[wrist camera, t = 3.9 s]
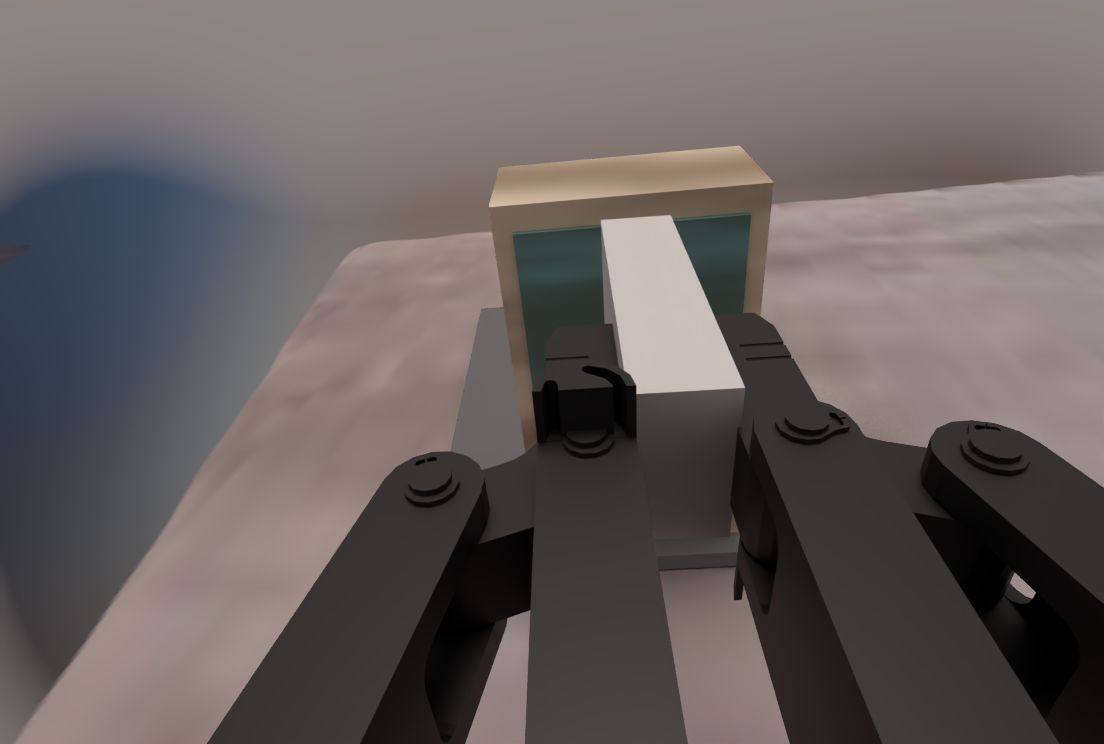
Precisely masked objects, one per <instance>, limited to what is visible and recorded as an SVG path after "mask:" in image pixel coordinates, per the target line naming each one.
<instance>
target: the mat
mask: <svg viewBox="0 0 1104 744" xmlns="http://www.w3.org/2000/svg"><path fill="white" fill-rule="evenodd" d="M450 452H455V453H459V454H463V455H466V456H469V457H470V458H471V459H473V460H474V461H475V462H476V463H478V464H479V465H480V468H481V470H483V469H486V468H490V467H493V466H497V465H500V464H503V463H506V462H508V461H511V460H514V459H516V458H517V457H519V456H521V455H522V454H524V453H525V447H524V440H523V434H522V427H521V420H520V414H519V407H518V400H517V394H516V387H515V380H514V374H513V367H512V360H511V354H510V347H509V340H508V334H507V327H506V320H505V314H504V307H499V308H486V309H481V313H480V317H479V322H478V327H477V331H476V336H475V341H474V345H473V350H472V354H471V359H470V364H469V368H468V373H467V377H466V382H465V387H464V391H463V396H462V400H461V405H460V410H459V414H458V419H457V423H456V428H455V433H454V437H453V442H452V446H451V451H450ZM739 537H740V534H739V532H731V533H730V536H729V537H707V538H685V539H664V540H654V544H655V550H656V556H657V562H658V568H659V570H667V569H686V568H705V567H724V566H736V562H737V554H738V545H739Z"/></svg>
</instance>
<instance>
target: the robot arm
mask: <svg viewBox="0 0 1104 744" xmlns="http://www.w3.org/2000/svg"><path fill="white" fill-rule="evenodd" d="M601 241H602V268H603V295H604V321H605V324H596V325H580V326H564V327H557V329H556V330H555V331H554V332H553V334H552V335H551V336H550V338H549V339H548V340H547V341H546V355H545V360H546V362H545V373H544V374H543V375H542V376H541V377H540V378H538V379H537V380H536V382H535V385H534V387H533V390H532V399H533V407H534V416H535V425H536V433H537V442H536V444H535V445H534V446H533V447H531V448H530V449H529V450H528V451H527V452H526V453H524V454H522V455H521V456H519V457H517V458H516V459H514V460H511V461H508V462H506V463H503V464H500V465H497V466H493V467H490V468H486V469H483V470H481V468H480V465H479V464H478V463H476V462H475V461H474V460H473V459H471V458H470V457H469V456H466V455H463V454H459V453H455V452H431V453H427V454H424V455H420V456H416V457H413V458H411V459H410V460H408V461H406V462H404V463H403V464H401V465H399V466H397V467H396V468H395V469H394V470H393V471H392V472H391V473H390V474H389V475H388V476H387V477H386V478H385V479H384V481H383V482H382V484H381V485H380V487H379V488H378V490H377V491H376V493H375V494H374V496H373V497H372V499H371V500H370V502H369V503H368V505H367V506H366V508H365V509H364V511H363V512H362V514H361V515H360V517H359V518H358V520H357V521H356V522H355V524H354V525H353V527H352V528H351V530H350V531H349V533H348V534H347V536H346V537H345V539H344V540H343V542H342V543H341V545H340V546H339V548H338V549H337V551H336V552H335V554H334V555H333V557H332V558H331V560H330V561H329V563H328V564H327V566H326V567H325V569H324V570H323V572H322V573H321V575H320V576H319V578H318V579H317V581H316V582H315V583H314V585H313V586H312V588H311V589H310V591H309V592H308V594H307V595H306V597H305V598H304V600H303V601H302V603H301V604H300V606H299V607H298V609H297V610H296V612H295V613H294V615H293V616H292V618H291V619H290V621H289V622H288V624H287V625H286V627H285V628H284V630H283V631H282V633H281V634H280V636H279V637H278V639H277V640H276V642H275V643H274V645H273V646H272V647H271V649H270V650H269V652H268V653H267V655H266V656H265V658H264V659H263V661H262V662H261V664H260V665H259V667H258V668H257V670H256V671H255V673H254V674H253V676H252V677H251V679H250V680H249V682H248V683H247V685H246V686H245V688H244V689H243V691H242V692H241V694H240V695H239V697H238V698H237V700H236V701H235V703H234V704H233V706H232V707H231V708H230V710H229V711H228V713H227V714H226V716H225V717H224V719H223V720H222V722H221V723H220V725H219V726H218V728H217V729H216V731H215V732H214V734H213V735H212V737H211V738H210V740H209V741H208V743H207V744H465V742H466V739H467V736H468V734H469V731H470V728H471V725H472V722H473V719H474V716H475V714H476V711H477V708H478V705H479V702H480V699H481V696H482V694H483V691H484V688H485V685H486V682H487V679H488V676H489V674H490V671H491V668H492V665H493V662H494V659H495V657H496V654H497V651H498V648H499V645H500V642H501V639H502V637H503V634H504V631H505V628H506V624H507V618H509V617H512V616H514V615H517V614H520V613H523V612H526V611H529V610H531V612H530V636H529V660H528V684H527V708H526V732H525V744H688V743H687V737H686V731H685V725H684V719H683V713H682V707H681V701H680V695H679V689H678V683H677V677H676V671H675V665H674V659H673V653H672V647H671V641H670V635H669V629H668V623H667V617H666V611H665V604H664V598H663V592H662V586H661V580H660V574H659V568H658V562H657V556H656V550H655V544H654V540H664V539H685V538H707V537H729V536H730V529H731V519H732V512H733V515H734V518H735V522H736V525H737V528H738V531H739V534H740V537H739V545H738V554H737V562H736V571H735V579H734V600H742V593H743V585H744V587H745V591H746V594H747V598H748V601H749V605H750V608H751V611H752V615H753V618H754V622H755V625H756V629H757V632H758V636H759V639H760V642H761V646H762V649H763V653H764V656H765V660H766V663H767V667H768V670H769V674H770V677H771V680H772V684H773V687H774V691H775V694H776V698H777V701H778V705H779V708H780V711H781V715H782V718H783V722H784V725H785V729H786V732H787V736H788V739H789V742H790V744H1104V488H1103V487H1102V486H1100V485H1099V484H1098V483H1096V482H1095V481H1093V480H1092V479H1091V478H1089V477H1088V476H1086V475H1085V474H1083V473H1082V472H1081V471H1079V470H1078V469H1076V468H1075V467H1074V466H1072V465H1071V464H1069V463H1068V462H1066V461H1065V460H1064V459H1062V458H1061V457H1059V456H1058V455H1057V454H1055V453H1054V452H1052V451H1051V450H1050V449H1048V448H1047V447H1045V446H1044V445H1042V444H1041V443H1039V442H1038V441H1036V440H1034V439H1032V438H1030V437H1029V436H1027V435H1025V434H1023V433H1021V432H1020V431H1017V430H1014V429H1011V428H1007V427H1004V426H1001V425H998V424H995V423H989V422H980V421H973V420H970V421H958V422H950V423H948V424H946V425H943V426H941V427H939V428H937V429H936V431H935V432H934V434H933V435H932V436H931V438H930V441H929V444H928V447H927V448H925V447H918V446H912V445H905V444H898V443H892V442H885V441H881V440H876V439H871V438H868V437H865V436H864V434H863V433H862V431H861V430H860V428H859V427H858V425H857V424H856V423H855V422H854V421H853V420H852V419H851V418H850V417H849V416H848V415H847V414H846V413H845V412H843V411H841V410H839V409H837V408H835V407H834V406H832V405H830V404H826V403H823V402H819V401H818V400H817V399H816V397H815V395H814V393H813V392H812V390H811V388H810V387H809V385H808V383H807V381H806V380H805V378H804V376H803V375H802V373H801V371H800V369H799V368H798V366H797V364H796V363H795V361H794V359H791V354H790V352H789V351H788V349H787V347H786V345H784V344H783V340H782V339H781V337H780V335H779V333H778V332H777V330H776V328H775V327H774V325H772V324H771V323H769V322H768V321H766V320H765V319H763V318H762V317H760V316H759V315H757V314H756V313H738V314H722V315H714V314H713V312H712V310H711V307H710V305H709V303H708V300H707V298H706V296H705V294H704V291H703V289H702V287H701V284H700V282H699V280H698V277H697V275H696V273H695V270H694V268H693V266H692V263H691V261H690V259H689V257H688V254H687V252H686V250H685V247H684V245H683V243H682V240H681V238H680V236H679V233H678V231H677V229H676V226H675V224H674V222H673V219H672V217H671V215H665V216H651V217H637V218H623V219H609V220H601ZM1014 573H1016V574H1017V575H1018V576H1019V577H1020V578H1021V579H1023V580H1024V581H1025V582H1026V583H1027V584H1028V585H1029V586H1030V587H1031V588H1032V589H1033V590H1034V591H1035V592H1036V594H1035V596H1034V597H1033V599H1031V598H1028V597H1025V596H1024V595H1023V594H1021V593H1020V592H1019V591H1017V590H1016V589H1015V588H1014V587H1013V586H1012V585H1011V584H1010V581H1011V579H1012V577H1013V575H1014Z"/></svg>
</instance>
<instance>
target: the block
mask: <svg viewBox="0 0 1104 744" xmlns="http://www.w3.org/2000/svg"><path fill="white" fill-rule="evenodd" d="M773 183H774V182H773V181H772V180H771V179H770V178H769V177H768V176H767V175H766V174H765V173H764V172H763V171H762V169H761V168H760V167H759V166H758V165H757V164H756V163H755V162H754V161H753V160H752V159H751V158H750V156H749V155H748V154H747V153H746V152H745V151H744V150H743V149H742V148H741V147H740V146H731V147H720V148H709V149H698V150H687V151H676V152H665V153H653V154H644V155H643V154H642V155H631V156H620V157H609V158H598V159H588V160H576V161H565V162H554V163H543V164H532V165H522V166H511V167H500V168H499V171H498V175H497V179H496V182H495V186H494V189H493V193H492V197H491V200H490V204H489V213H490V220H491V227H492V233H493V240H494V247H495V253H496V260H497V267H498V273H499V280H500V287H501V293H502V300H503V307H504V314H505V320H506V327H507V334H508V340H509V347H510V354H511V360H512V367H513V374H514V380H515V387H516V394H517V400H518V407H519V414H520V420H521V427H522V434H523V440H524V447H525V453H526V452H527V451H528V450H529V449H530V448H531V447H533V446H534V445H535V444H536V442H537V433H536V425H535V416H534V407H533V399H532V390H533V387H534V385H535V382H536V380H537V379H538V378H540V377H541V376H542V375H543V374H544V373H545V362H546V360H545V355H546V341H547V340H548V339H549V338H550V336H551V335H552V334H553V332H554V331H555V330H556V329H557V327H564V326H580V325H596V324H605V321H604V295H603V268H602V241H601V220H609V219H623V218H637V217H651V216H665V215H671V217H672V219H673V222H674V224H675V226H676V229H677V231H678V233H679V236H680V238H681V240H682V243H683V245H684V247H685V250H686V252H687V254H688V257H689V259H690V261H691V263H692V266H693V268H694V270H695V273H696V275H697V277H698V280H699V282H700V284H701V287H702V289H703V291H704V294H705V296H706V298H707V300H708V303H709V305H710V307H711V310H712V312H713V314H714V315H722V314H738V313H756V314H757V315H759V316H760V314H761V304H762V294H763V284H764V273H765V263H766V253H767V243H768V233H769V223H770V213H771V203H772V193H773ZM731 532H739V531H738V528H737V525H736V522H735V518H734V515H733V512H732V519H731V529H730V533H731Z"/></svg>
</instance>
